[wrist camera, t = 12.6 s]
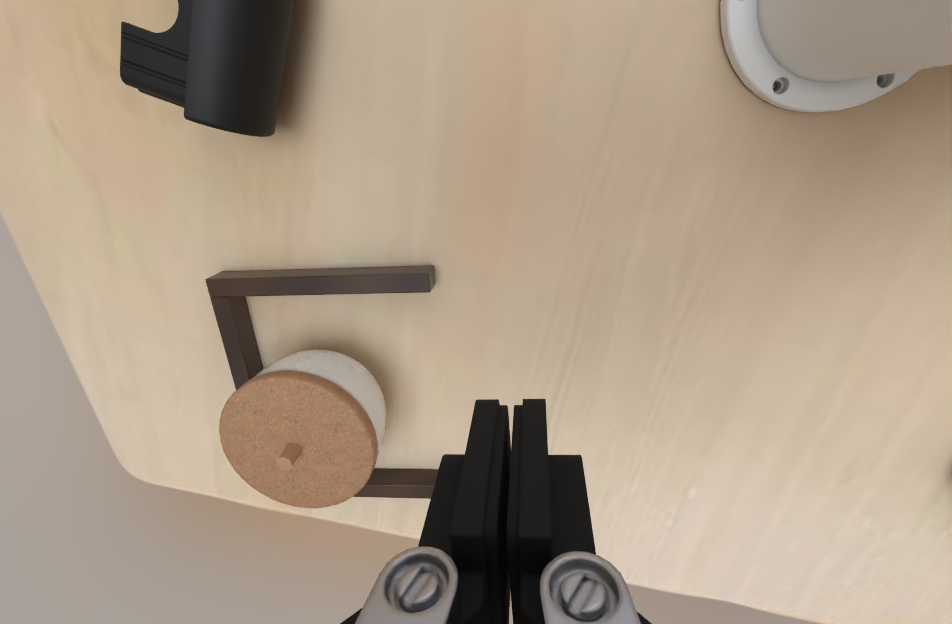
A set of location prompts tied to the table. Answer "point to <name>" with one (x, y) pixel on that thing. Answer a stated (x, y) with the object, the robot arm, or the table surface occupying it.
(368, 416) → the trinket box
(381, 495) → the frame
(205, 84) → the end cap
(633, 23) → the table surface
